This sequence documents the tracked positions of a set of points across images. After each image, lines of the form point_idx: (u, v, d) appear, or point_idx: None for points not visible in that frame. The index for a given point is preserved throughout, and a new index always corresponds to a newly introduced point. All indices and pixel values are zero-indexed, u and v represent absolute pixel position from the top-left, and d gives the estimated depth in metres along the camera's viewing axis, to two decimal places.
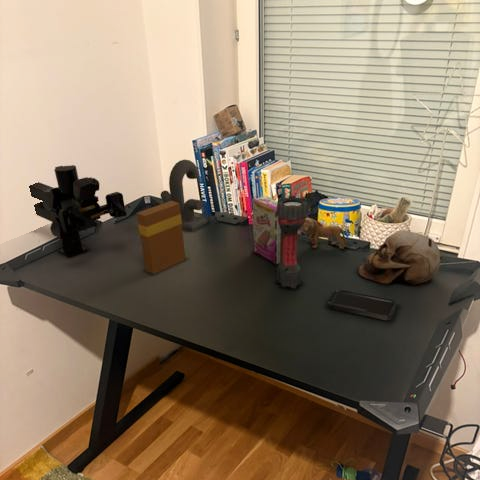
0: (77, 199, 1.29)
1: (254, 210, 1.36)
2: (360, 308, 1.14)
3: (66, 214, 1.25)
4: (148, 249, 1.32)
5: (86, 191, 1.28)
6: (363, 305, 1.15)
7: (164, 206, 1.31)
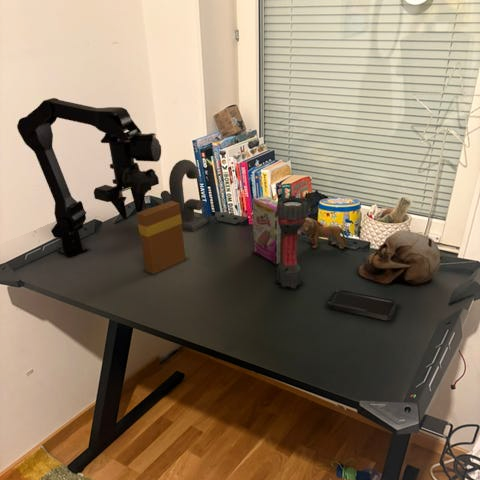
0: (127, 183, 1.28)
1: (254, 210, 1.36)
2: (360, 308, 1.14)
3: None
4: (148, 249, 1.32)
5: None
6: (363, 305, 1.15)
7: (164, 206, 1.31)
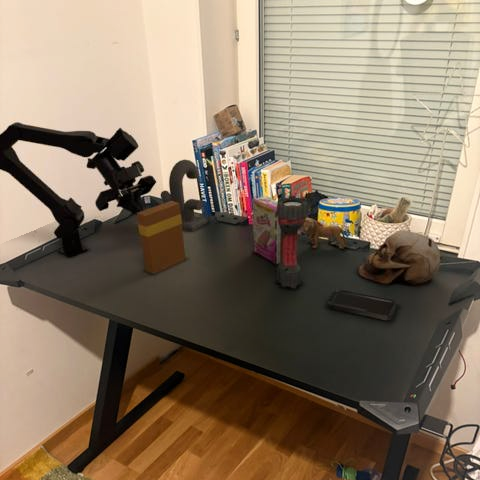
0: (119, 180, 1.31)
1: (254, 210, 1.36)
2: (360, 308, 1.14)
3: (119, 193, 1.32)
4: (148, 249, 1.32)
5: None
6: (363, 305, 1.15)
7: (164, 206, 1.31)
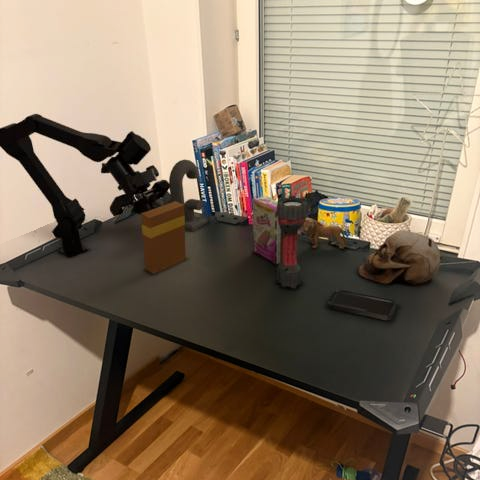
0: (133, 185, 1.29)
1: (254, 210, 1.36)
2: (360, 308, 1.14)
3: (134, 198, 1.30)
4: (149, 249, 1.31)
5: None
6: (363, 305, 1.15)
7: (168, 208, 1.30)
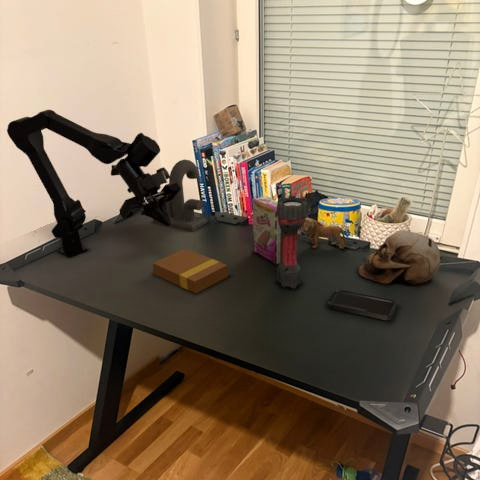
0: (144, 187, 1.27)
1: (254, 210, 1.36)
2: (360, 308, 1.14)
3: (144, 201, 1.27)
4: (171, 279, 1.30)
5: None
6: (363, 305, 1.15)
7: (216, 278, 1.29)
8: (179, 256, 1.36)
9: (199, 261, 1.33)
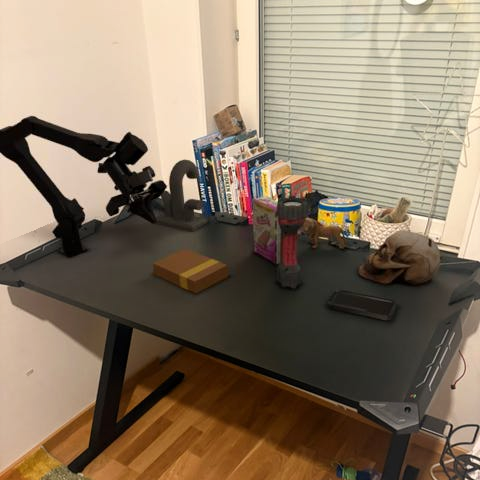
0: (130, 185, 1.30)
1: (254, 210, 1.36)
2: (360, 308, 1.14)
3: (130, 198, 1.30)
4: (171, 279, 1.30)
5: None
6: (363, 305, 1.15)
7: (216, 278, 1.29)
8: (179, 256, 1.36)
9: (199, 261, 1.33)
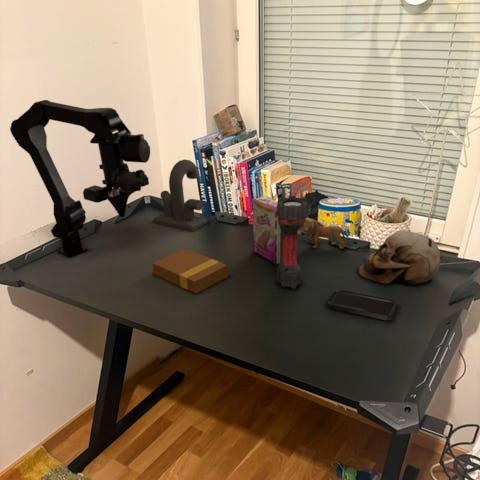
0: (117, 183, 1.28)
1: (254, 210, 1.36)
2: (360, 308, 1.14)
3: (111, 193, 1.30)
4: (171, 279, 1.30)
5: None
6: (363, 305, 1.15)
7: (216, 278, 1.29)
8: (179, 256, 1.36)
9: (199, 261, 1.33)
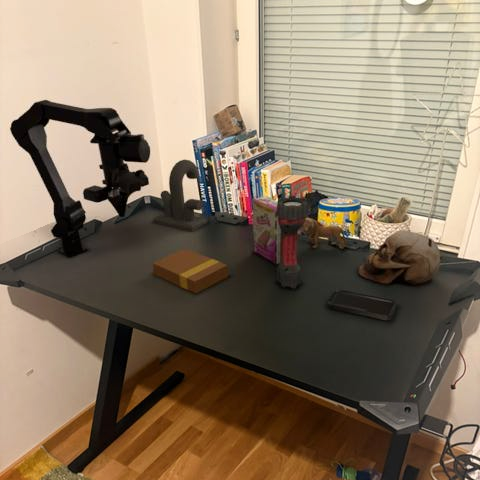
0: (117, 183, 1.28)
1: (254, 210, 1.36)
2: (360, 308, 1.14)
3: (111, 193, 1.30)
4: (171, 279, 1.30)
5: None
6: (363, 305, 1.15)
7: (216, 278, 1.29)
8: (179, 256, 1.36)
9: (199, 261, 1.33)
